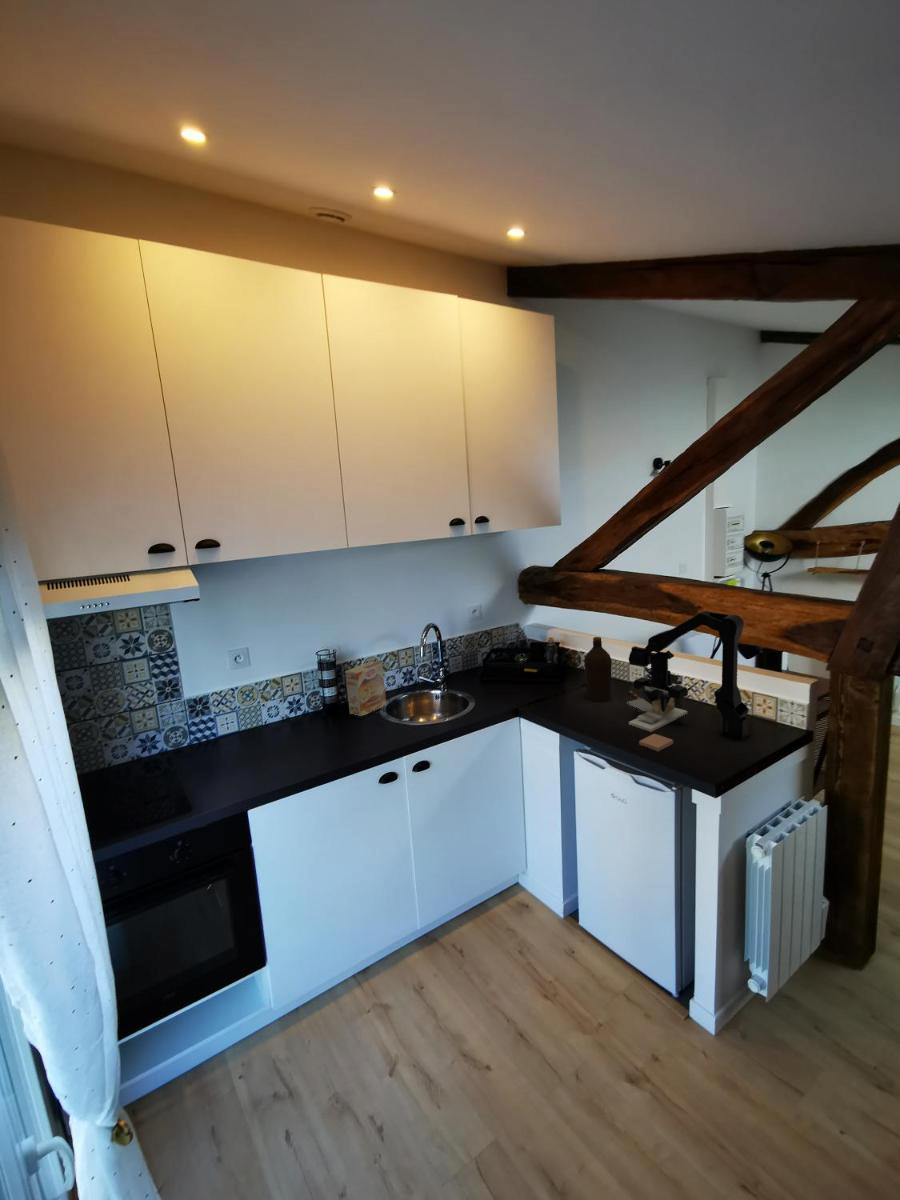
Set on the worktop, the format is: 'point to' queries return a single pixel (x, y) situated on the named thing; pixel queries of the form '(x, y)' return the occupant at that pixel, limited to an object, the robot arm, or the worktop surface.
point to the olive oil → (598, 672)
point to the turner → (657, 711)
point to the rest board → (665, 720)
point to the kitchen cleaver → (639, 702)
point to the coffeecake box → (365, 688)
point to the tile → (656, 742)
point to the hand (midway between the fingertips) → (660, 710)
